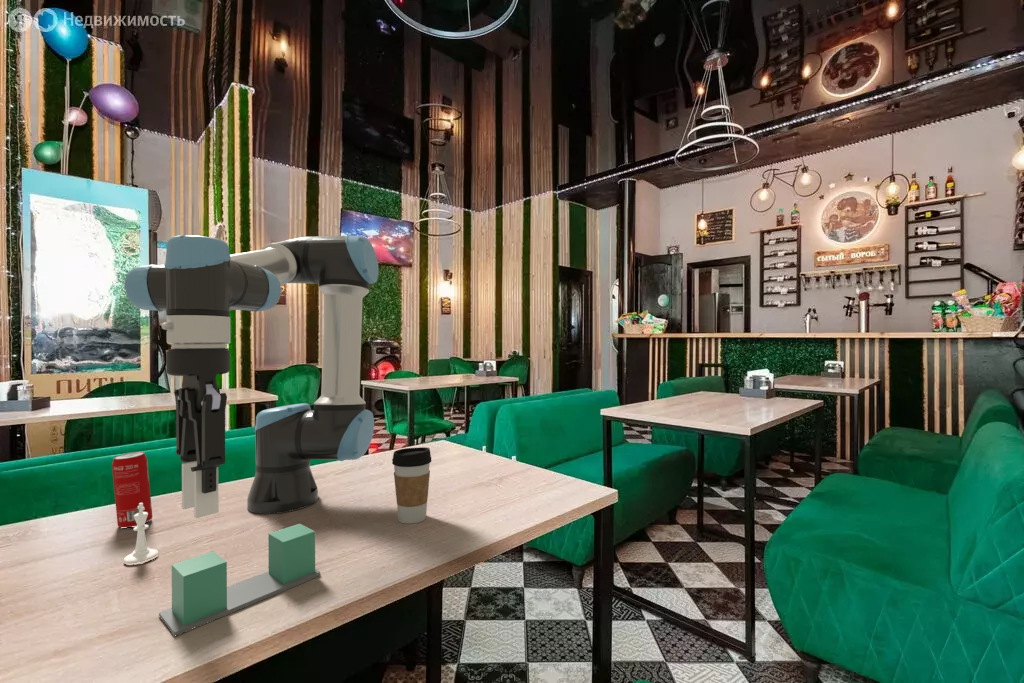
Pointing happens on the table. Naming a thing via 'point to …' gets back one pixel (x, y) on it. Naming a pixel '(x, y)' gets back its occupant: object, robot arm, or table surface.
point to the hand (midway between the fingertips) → (200, 509)
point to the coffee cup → (411, 483)
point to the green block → (199, 587)
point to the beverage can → (131, 487)
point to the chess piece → (141, 540)
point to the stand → (265, 575)
